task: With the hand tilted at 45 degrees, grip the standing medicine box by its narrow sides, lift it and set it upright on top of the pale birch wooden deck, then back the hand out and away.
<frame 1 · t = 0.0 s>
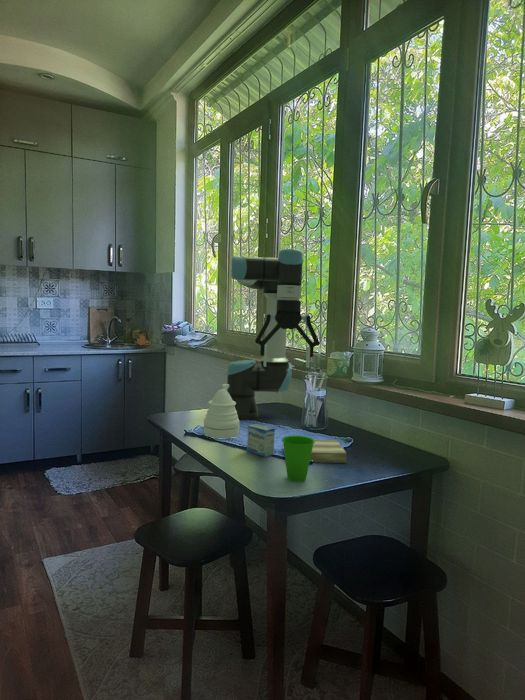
hand: (286, 366, 155), 28 cm above the table, tool pointing down, fingers open, 13 cm apart
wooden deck: (313, 455, 157), on the table
medicine box: (260, 453, 157), on the table
cup: (296, 479, 136), on the table
honey pot: (221, 435, 177), on the table
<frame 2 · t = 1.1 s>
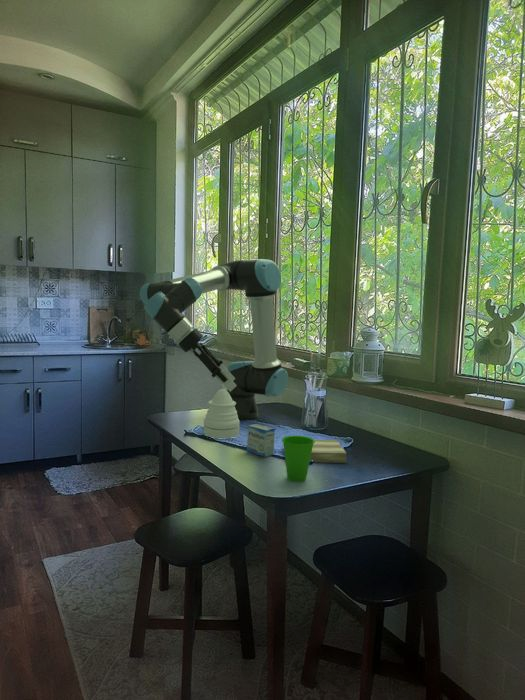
hand: (232, 384, 154), 22 cm above the table, tool tilted 45°, fingers open, 13 cm apart
nothing on the table moved.
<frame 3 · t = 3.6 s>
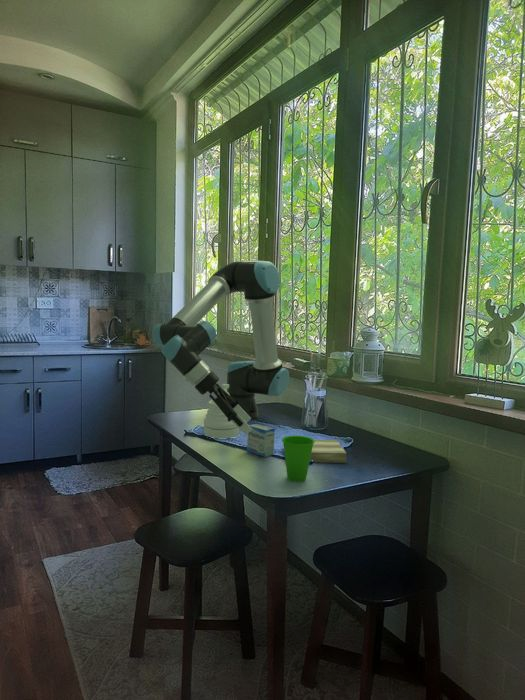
hand: (248, 426, 155), 9 cm above the table, tool tilted 45°, fingers open, 13 cm apart
nothing on the table moved.
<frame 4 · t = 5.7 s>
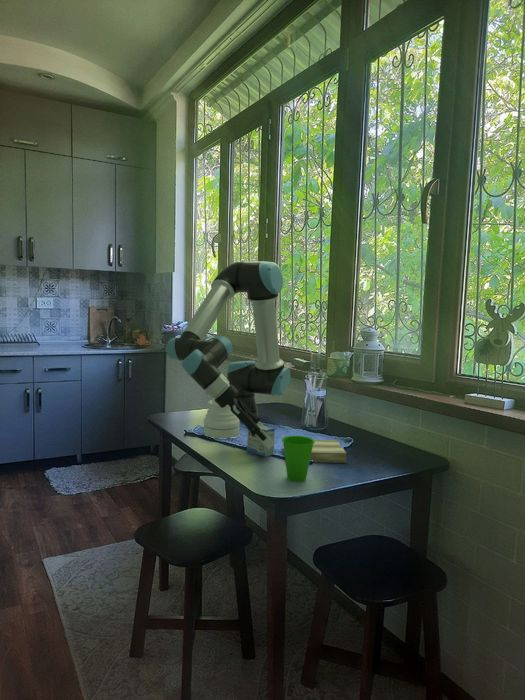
hand: (270, 441, 157), 4 cm above the table, tool tilted 45°, fingers closed on medicine box, 8 cm apart
medicine box: (260, 453, 157), on the table, touching gripper
everything else where it was.
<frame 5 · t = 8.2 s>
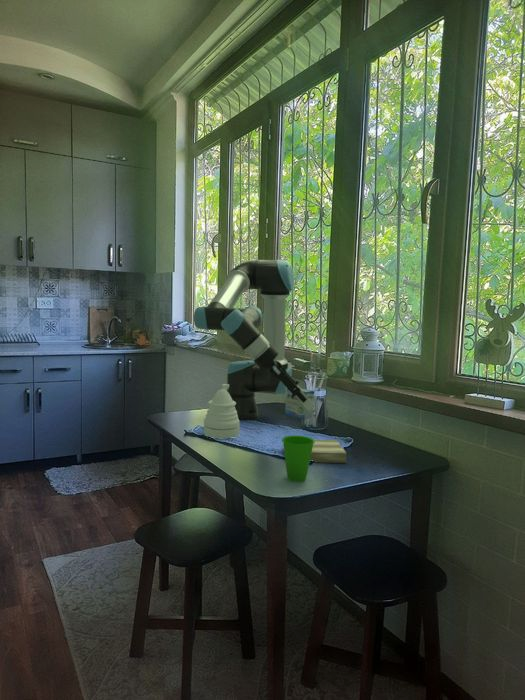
hand: (310, 405, 154), 16 cm above the table, tool tilted 45°, fingers closed on medicine box, 8 cm apart
medicine box: (298, 416, 154), point 13 cm above the table, touching gripper
everything else where it was.
when the fingers open (8 cm above the table, at t = 11.0 s): medicine box drops 1 cm, resting on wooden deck.
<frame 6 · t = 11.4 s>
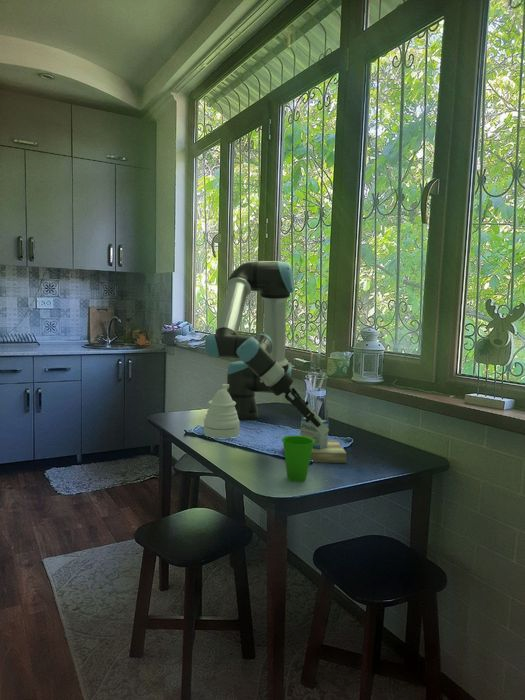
hand: (322, 427, 156), 9 cm above the table, tool tilted 45°, fingers open, 13 cm apart
medicine box: (313, 446, 157), point 3 cm above the table, touching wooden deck
everything else where it was.
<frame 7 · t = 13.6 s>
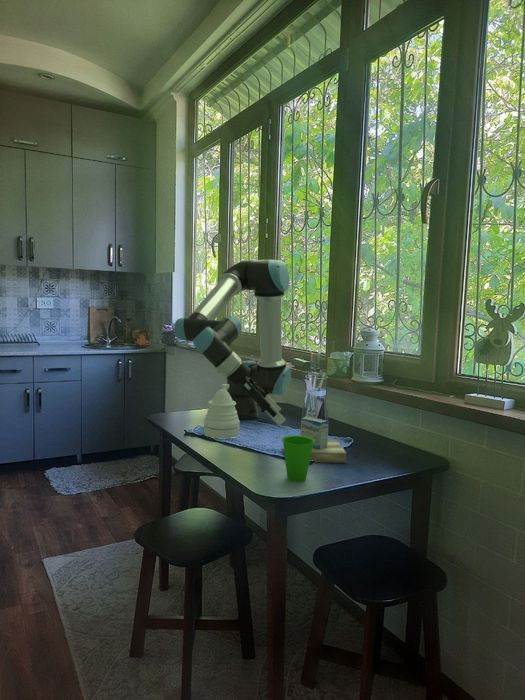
hand: (280, 417, 156), 12 cm above the table, tool tilted 45°, fingers open, 13 cm apart
nothing on the table moved.
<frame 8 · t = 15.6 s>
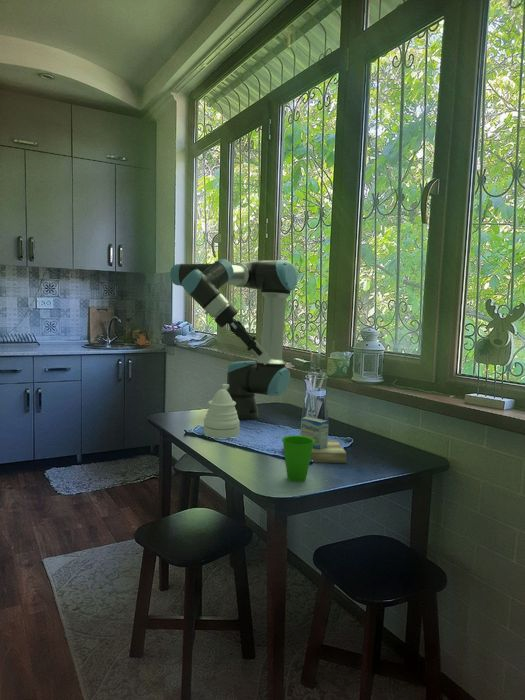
hand: (266, 359, 159), 30 cm above the table, tool tilted 45°, fingers open, 13 cm apart
nothing on the table moved.
at the end: medicine box inside the target area on the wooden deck (0.1 cm from its centre), point 2.8 cm above the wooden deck's base; medicine box tilted 0°; the gripper is holding nothing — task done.
